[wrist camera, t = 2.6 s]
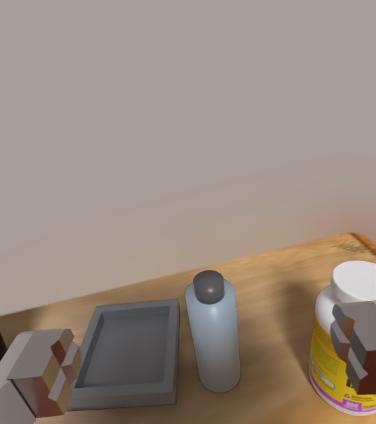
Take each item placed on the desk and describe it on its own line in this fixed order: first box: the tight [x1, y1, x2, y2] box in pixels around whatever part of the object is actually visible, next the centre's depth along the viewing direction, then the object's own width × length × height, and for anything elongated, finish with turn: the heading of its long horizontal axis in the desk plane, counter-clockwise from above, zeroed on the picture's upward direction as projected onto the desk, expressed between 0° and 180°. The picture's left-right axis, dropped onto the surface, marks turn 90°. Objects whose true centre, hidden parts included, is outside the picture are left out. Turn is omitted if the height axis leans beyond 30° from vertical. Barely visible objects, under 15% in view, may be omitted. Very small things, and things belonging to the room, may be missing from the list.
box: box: [66, 299, 180, 411], centre depth 34 cm, size 11×12×2 cm
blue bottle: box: [185, 270, 241, 393], centre depth 28 cm, size 4×4×12 cm
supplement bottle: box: [309, 261, 376, 416], centre depth 25 cm, size 7×7×13 cm
